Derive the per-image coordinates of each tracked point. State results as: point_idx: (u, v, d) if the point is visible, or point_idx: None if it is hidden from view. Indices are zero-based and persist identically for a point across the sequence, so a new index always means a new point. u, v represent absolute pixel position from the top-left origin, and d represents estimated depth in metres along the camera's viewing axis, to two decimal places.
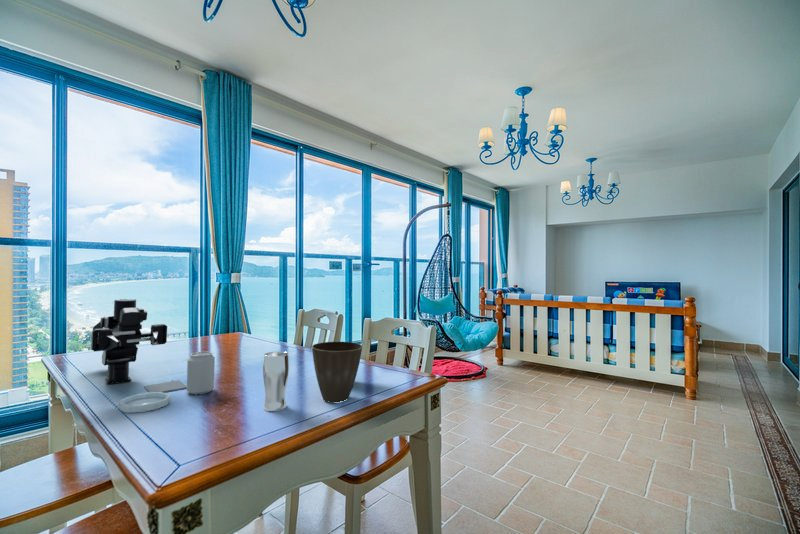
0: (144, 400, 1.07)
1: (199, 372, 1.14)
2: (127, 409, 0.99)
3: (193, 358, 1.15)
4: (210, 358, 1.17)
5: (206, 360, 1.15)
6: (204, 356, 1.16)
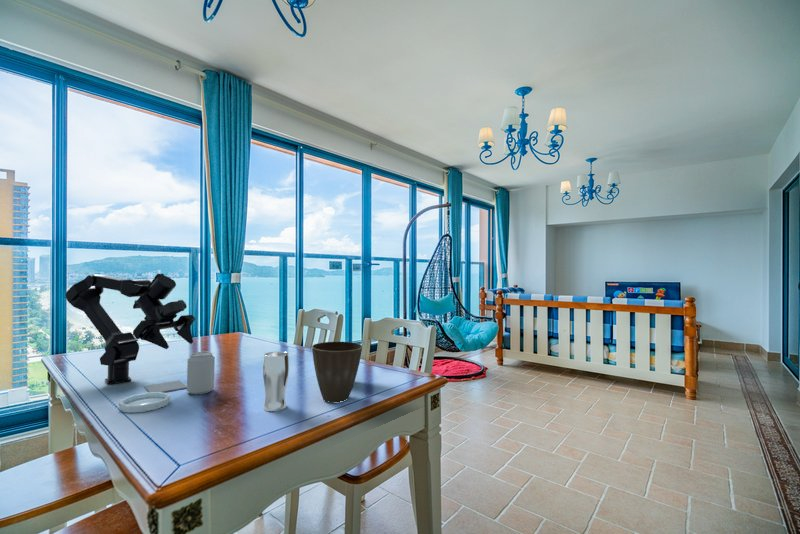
0: (144, 400, 1.07)
1: (199, 372, 1.14)
2: (127, 409, 0.99)
3: (193, 358, 1.15)
4: (210, 358, 1.17)
5: (206, 360, 1.15)
6: (204, 356, 1.16)
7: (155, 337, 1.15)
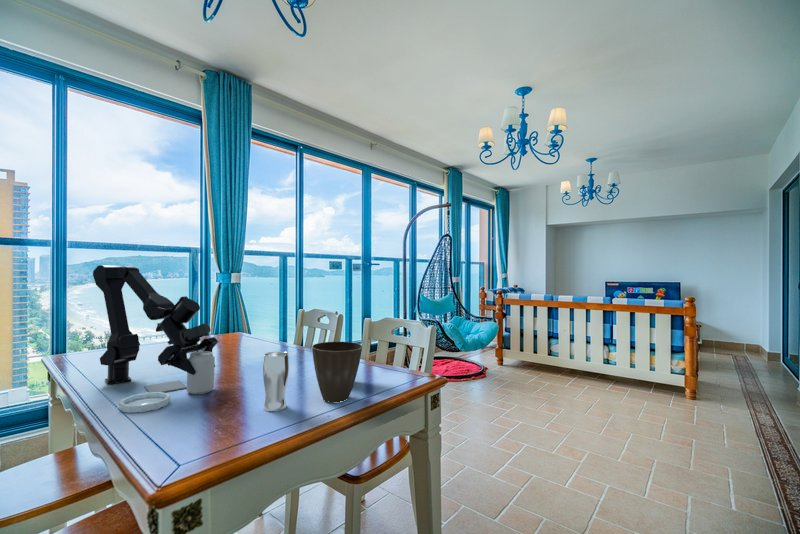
0: (144, 400, 1.07)
1: (199, 372, 1.14)
2: (127, 409, 0.99)
3: (193, 358, 1.15)
4: (210, 358, 1.17)
5: (206, 360, 1.15)
6: (204, 356, 1.16)
7: (182, 362, 1.13)
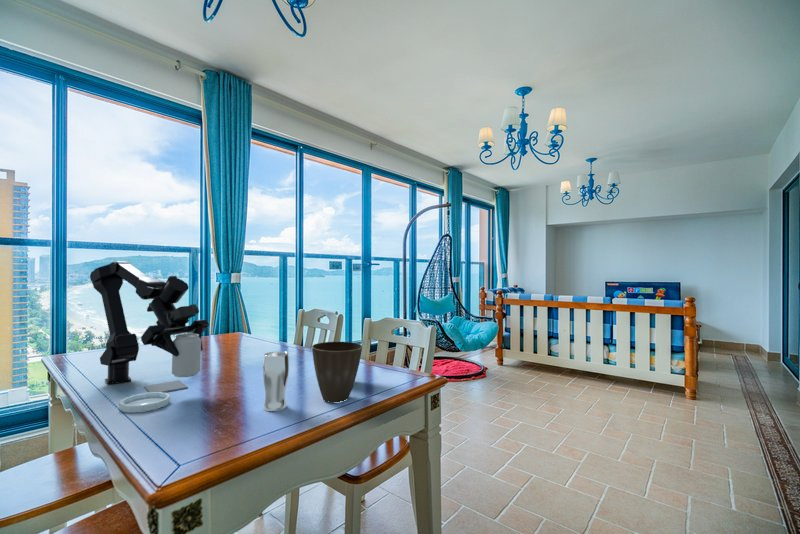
0: (144, 400, 1.07)
1: (183, 354, 1.10)
2: (127, 409, 0.99)
3: (177, 339, 1.11)
4: (195, 340, 1.12)
5: (190, 342, 1.11)
6: (188, 338, 1.11)
7: (166, 343, 1.10)
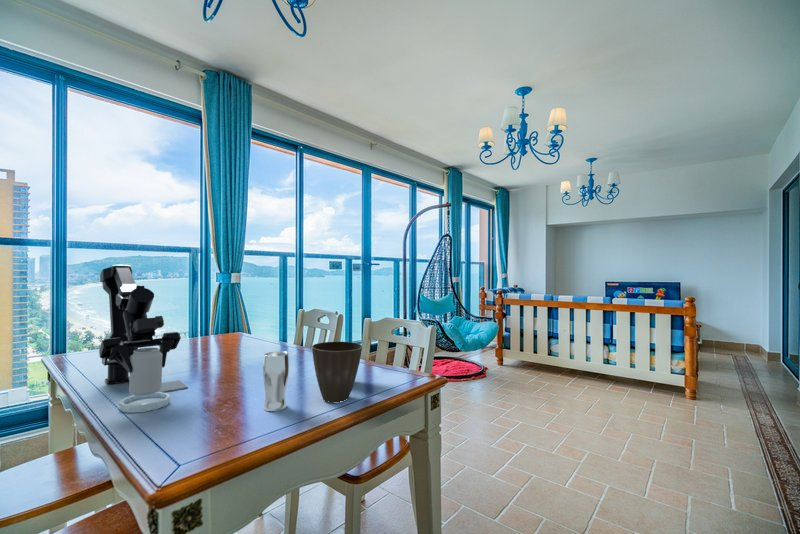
0: (144, 400, 1.07)
1: (136, 371, 1.02)
2: (127, 409, 0.99)
3: (133, 354, 1.03)
4: (150, 356, 1.03)
5: (144, 358, 1.02)
6: (143, 353, 1.02)
7: (122, 358, 1.03)
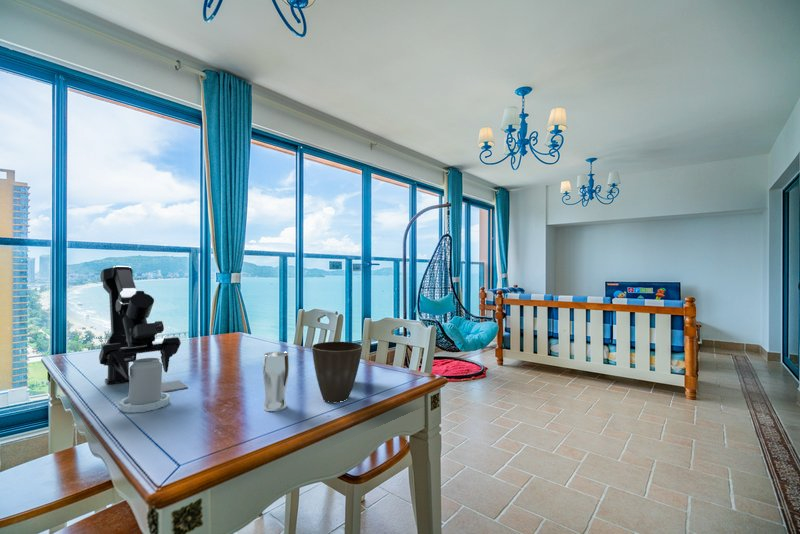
0: None
1: (135, 381, 1.02)
2: (127, 409, 0.99)
3: (133, 365, 1.03)
4: (150, 367, 1.03)
5: (144, 368, 1.02)
6: (143, 364, 1.03)
7: (119, 364, 1.02)
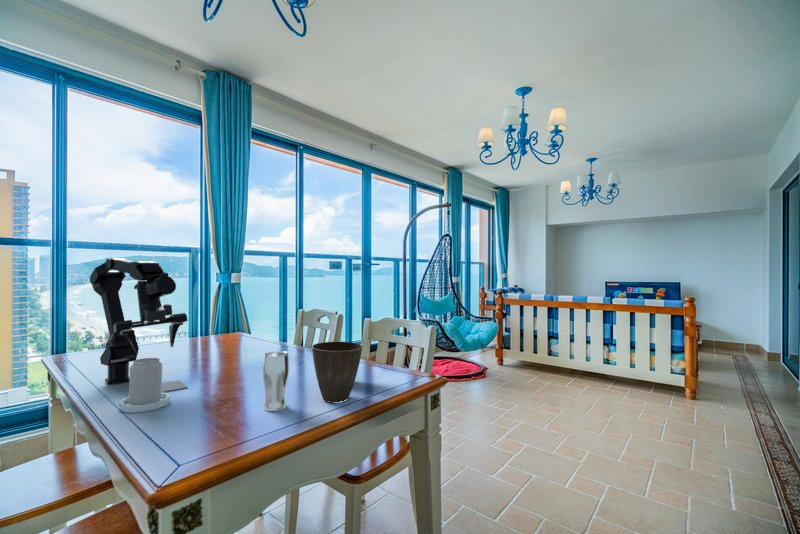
0: None
1: (136, 381, 1.02)
2: (127, 409, 0.99)
3: (133, 365, 1.03)
4: (150, 367, 1.03)
5: (144, 368, 1.02)
6: (143, 364, 1.02)
7: None
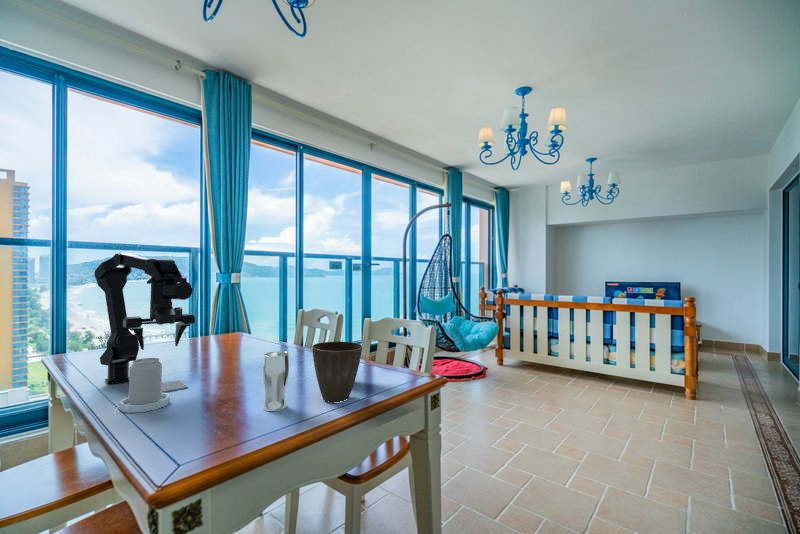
0: None
1: (135, 381, 1.01)
2: (127, 409, 0.99)
3: (132, 365, 1.03)
4: (149, 367, 1.03)
5: (143, 369, 1.02)
6: (142, 364, 1.02)
7: None
